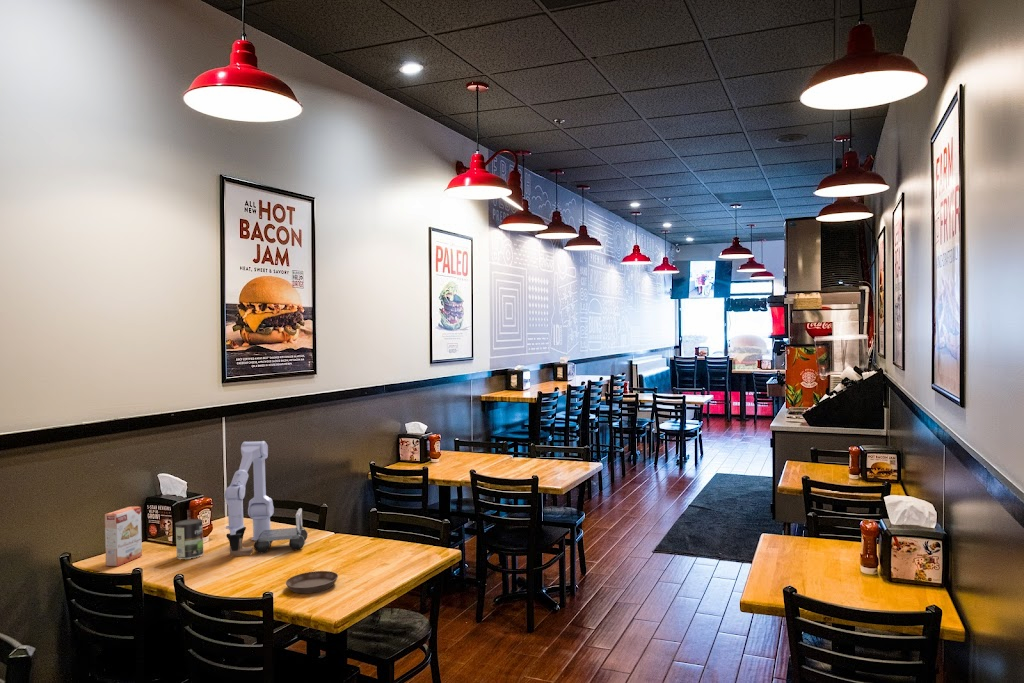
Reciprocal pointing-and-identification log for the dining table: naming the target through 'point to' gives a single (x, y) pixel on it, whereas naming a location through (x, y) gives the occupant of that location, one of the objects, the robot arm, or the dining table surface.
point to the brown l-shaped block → (241, 550)
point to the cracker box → (123, 536)
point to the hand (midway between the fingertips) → (237, 548)
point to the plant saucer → (311, 581)
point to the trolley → (283, 536)
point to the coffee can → (189, 538)
